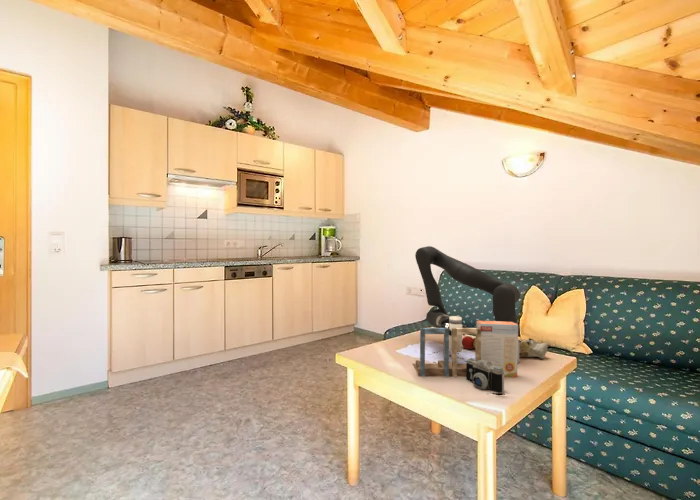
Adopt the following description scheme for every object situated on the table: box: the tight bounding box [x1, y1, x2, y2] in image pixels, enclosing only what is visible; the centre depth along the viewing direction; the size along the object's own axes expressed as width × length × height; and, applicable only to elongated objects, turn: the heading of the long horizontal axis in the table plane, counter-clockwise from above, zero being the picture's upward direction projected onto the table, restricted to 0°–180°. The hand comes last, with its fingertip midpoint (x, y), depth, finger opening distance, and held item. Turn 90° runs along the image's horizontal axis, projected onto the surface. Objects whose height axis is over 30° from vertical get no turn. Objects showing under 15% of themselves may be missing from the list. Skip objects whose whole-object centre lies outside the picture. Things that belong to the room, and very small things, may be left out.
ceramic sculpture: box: [519, 337, 549, 360], centre depth 154 cm, size 11×9×15 cm
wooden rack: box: [412, 327, 481, 378], centre depth 135 cm, size 24×14×19 cm, turn 90°
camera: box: [465, 357, 505, 396], centre depth 120 cm, size 15×7×10 cm, turn 31°
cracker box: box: [476, 320, 519, 378], centre depth 131 cm, size 14×6×21 cm, turn 85°
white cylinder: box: [449, 315, 463, 354], centre depth 143 cm, size 5×5×14 cm
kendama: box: [462, 335, 476, 350], centre depth 165 cm, size 8×6×18 cm
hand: (457, 333), depth 140 cm, fingers closed on white cylinder, 5 cm apart
